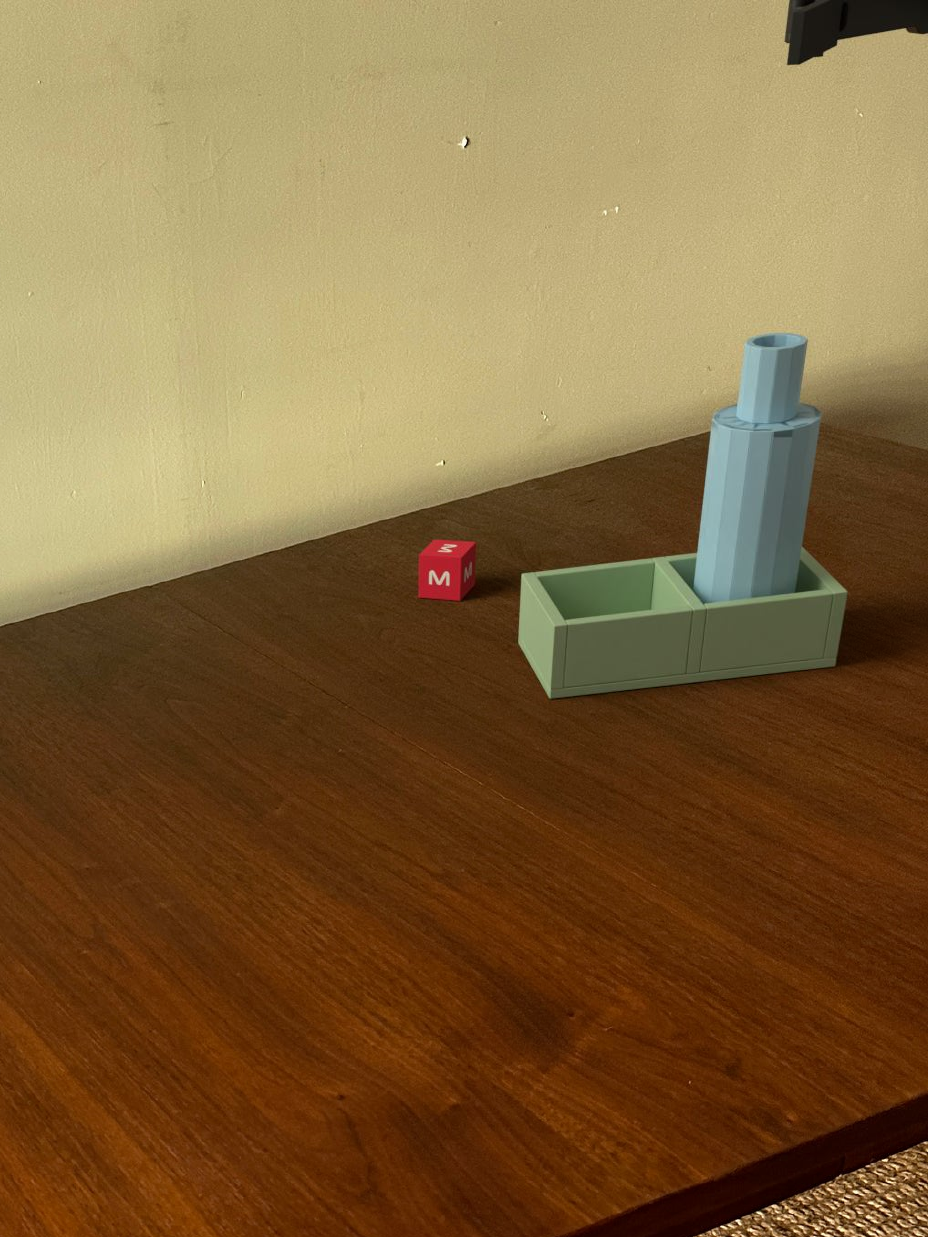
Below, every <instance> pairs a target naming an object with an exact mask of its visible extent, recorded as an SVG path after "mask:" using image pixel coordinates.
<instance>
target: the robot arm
mask: <svg viewBox="0 0 928 1237" xmlns="http://www.w3.org/2000/svg"><path fill="white" fill-rule="evenodd" d="M787 7H788V8H787V9H788V10H787V15H786V16H787V17H786V24H785V34H784V43H785V44H789V45H788V52H787V61H786V66H799V65H802V64H804V63H806V62H807V61H809V60H811V59H813V58H823V57H824V53H826V52H827V51H829V50H831V49H833V48H835V47H837V46H838V41H840V40H846V39H847V40H848V39H852V38H859V37H864V36H870V35H875V34H880V33H886V32H892V31H898V30H904V29H905V30H906V32H907V33H909V34H917V35H927V34H928V0H789V1H788V6H787Z"/></svg>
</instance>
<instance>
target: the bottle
mask: <svg viewBox="0 0 928 1237" xmlns="http://www.w3.org/2000/svg"><path fill="white" fill-rule="evenodd" d="M808 342H809V339H808V338H807V337H806V336H804V335H802V334H796V333H792V332H771V333H763V334H758V335H755V336H752V337H749V338H747V339H746V340H745V342H744V349H743V354H742V355H743V357H742V365H741V371H740V372H741V373H740V380H739V381H740V382H739V390H738V398H737V403H735V404H731V405H727V406H725V407H722V408H721V409H719V410H717V411H716V412H714V414H713V416H712V418H711V428H710V437H709V444H708V454H707V462H706V472H705V481H704V490H703V497H702V498H703V499H702V507H701V517H700V525H699V534H698V544H697V545H698V546H697V551H696V553H697V560H696V569H695V577H694V586H693V592H694V594H695V595H696V596H697V597H698V598H699V600H700V601H701V602H702V603H703V605H704V604H706V603H714V602H723V601H731V600H740V599H748V598H757V597H765V596H774V595H783V594H791V593H795V588H796V582H797V575H798V568H799V561H800V555H801V548H802V547H803V541H804V534H805V528H806V521H807V514H808V507H809V500H810V494H811V486H812V482H813V481H812V479H813V473H814V466H815V460H816V452H817V448H818V441H819V432H820V427H821V421H822V420H821V419H822V411H821V410H820V409H819V408H817V406H814V405H811V404H808V403H804V402H801V401H800V400H801V392H802V386H803V378H804V377H803V376H804V371H805V364H806V356H807V350H808Z"/></svg>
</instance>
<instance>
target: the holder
mask: <svg viewBox="0 0 928 1237" xmlns="http://www.w3.org/2000/svg"><path fill="white" fill-rule="evenodd" d="M696 560H697V552H692V553H684V554H683V553H682V554H676V555H674V554H673V555H666V556H657V557H652V558H651V557H650V558H642V559H641V558H640V559H632V560H625V561H617V562H608V563H600V564H590V565H583V566H575V567H565V568H557V569H549V570H542V571H535V572H533V571H531V572H524V573H521V579H520V596H519V597H520V599H519V617H518V618H519V620H518V641H517V643H518V645H519V647H520V649H521V651H522V652H523V654H524V656H525V658H526V659H527V662H528V663H529V665H530V667H531V669H532V670H533V672H534V673H535V674H534V675H535V676H536V677H537V679H538V680H539V682H540V685H541V686H542V688H543V690H544V691H545V693H546V696H548V698H549V699H551V700H553V699H560V698H561V699H563V698H570V697H579V696H587V695H596V694H597V695H598V694H605V693H613V692H614V693H615V692H622V691H632V690H639V689H648V688H656V687H657V688H658V687H665V686H666V687H667V686H675V685H685V684H692V683H701V682H709V681H720V680H727V679H737V678H744V677H745V678H746V677H753V676H762V675H772V674H778V673H779V674H780V673H789V672H797V671H806V670H815V669H823V668H824V669H825V668H832V667H836V664H837V657H838V653H839V646H840V640H841V634H842V628H843V622H844V617H845V611H846V604H847V599H848V590H847V589H846V588H845V587H843V585H842V584H841V583H839V581H838V580H836V578H835V577H834V576H833V575H831V573H829V571H828V570H826V568H824V566H823V565H822V564H820V563H819V561H817V560H816V559H815V558H814V557H813V556H812V555H811V554H810V553H809V552H808V551H807V550H806V549H805V548H804V547H803V546H802V548H801V555H800V561H799V568H798V575H797V582H796V588H795V593H791V594H783V595H774V596H765V597H757V598H748V599H740V600H731V601H723V602H714V603H706V604H704V605H703V603H702V602H701V601H700V600H699V598H698V597H697V596H696V595H695V594H694V592H693V586H694V577H695V569H696Z"/></svg>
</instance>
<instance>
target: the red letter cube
mask: <svg viewBox="0 0 928 1237" xmlns="http://www.w3.org/2000/svg"><path fill="white" fill-rule="evenodd" d="M476 554H477V542H476V541H465V540H464V541H463V540H452V539H451V540H450V539H449V540H448V539H434V538H433V540H432V541H431V542H430V543H429V544H428V545H427V546H426V547H425V548H424V549H423V550H422V551H421V552H420V553H419V554H418V599H429V600H430V599H431V600H442V601H456V602H457V601H458V602H461V601H462V600H463V598H464V597H465V596H466V595H467V594H468V593H469V592H470V591H471V590H472V589H473V587H474V586H475V585H476V560H477V559H476V556H477V555H476Z"/></svg>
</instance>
